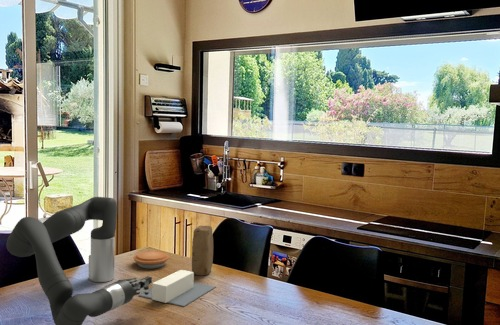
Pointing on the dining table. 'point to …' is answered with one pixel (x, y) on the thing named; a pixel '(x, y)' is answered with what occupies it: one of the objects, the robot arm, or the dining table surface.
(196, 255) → the tan textured post
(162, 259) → the pie
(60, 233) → the robot arm
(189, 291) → the mat
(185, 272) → the tall cream block
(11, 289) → the dining table surface
